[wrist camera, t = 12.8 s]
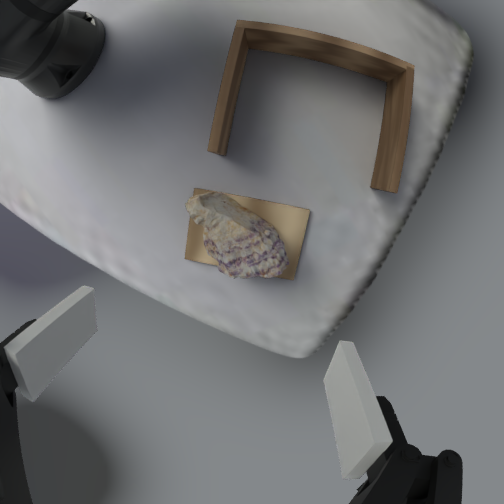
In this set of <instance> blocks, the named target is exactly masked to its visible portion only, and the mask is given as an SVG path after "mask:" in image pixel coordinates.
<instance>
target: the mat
mask: <svg viewBox="0 0 504 504" xmlns="http://www.w3.org/2000/svg"><path fill="white" fill-rule="evenodd" d="M208 192H215V191H210V190H204V189H198V188H194V194H193V196H195V195H200V194H204V193H208ZM218 193H220V192H218ZM224 194H226V195H227V196H229V197H231V198H232V199H234V200H235V201H237V202H238V203H239V204H240V205H241V206H243V207H245V208H247V209H249V210H250V211H251V212H253V213H254V214H256V215H257V216H259V217H260V218H262V219H264V220H265V221H266V222H268V223H269V224H271V225H273V227H274V229H275V230H276V232H277V233H278V235H279V238H280V239H281V240H282V241H283V242H284V246H285V251H286V253H287V257H288V260H289V265H286V267H287V268H286V269H285V270H283V271H282V274H280V275H277V276H274V277H278V278H283V279H289V280H294V276H295V272H296V268H297V264H298V260H299V256H300V252H301V247H302V243H303V239H304V235H305V230H306V226H307V222H308V217H309V213H310V210H308V209H303V208H299V207H294V206H289V205H285V204H280V203H275V202H270V201H265V200H260V199H254V198H249V197H244V196H238V195H233V194H227V193H224ZM203 233H204V229H203V226H202V225H198V224H196V223H195V222H194V220H193V219H192V218H191V217H190V221H189V229H188V236H187V244H186V252H185V259H187V260H192V261H197V262H202V263H207V264H212V265H217V266H218V265H219V263H218V261H217V260H216V259H214V258H213V257H211V256H209V255H208V254H207V251H206V248H205V245H204V238H203Z"/></svg>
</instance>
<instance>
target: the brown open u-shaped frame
mask: <svg viewBox="0 0 504 504" xmlns="http://www.w3.org/2000/svg"><path fill="white" fill-rule="evenodd" d="M248 49H256V50H263V51H270V52H276V53H282V54H287V55H292V56H297V57H302V58H307V59H311V60H315V61H319V62H323V63H327V64H331V65H335V66H338V67H342V68H345V69H349V70H352V71H355V72H358V73H361V74H365V75H368V76H370V77H373V78H376V79H379V80H382V81H384V82H387V88H386V97H385V105H384V112H383V119H382V126H381V133H380V139H379V145H378V150H377V156H376V161H375V167H374V172H373V177H372V182H371V186H370V187H371V188H374V189H378V190H383V191H387V192H392V193H397V192H398V187H399V182H400V177H401V172H402V167H403V161H404V156H405V150H406V143H407V137H408V130H409V122H410V114H411V105H412V94H413V82H414V65H412V64H410V63H407V62H405V61H403V60H400V59H398V58H396V57H393V56H391V55H388V54H385V53H383V52H380V51H377V50H375V49H372V48H369V47H366V46H363V45H360V44H357V43H354V42H350V41H347V40H344V39H340V38H337V37H333V36H329V35H325V34H321V33H317V32H313V31H308V30H304V29H299V28H293V27H288V26H282V25H276V24H269V23H262V22H254V21H244V20H237V22H236V26H235V30H234V33H233V37H232V41H231V45H230V49H229V53H228V57H227V61H226V65H225V69H224V73H223V78H222V82H221V86H220V91H219V95H218V100H217V105H216V109H215V114H214V119H213V124H212V129H211V134H210V139H209V145H208V150H207V151H209V152H212V153H215V154H219V155H225V156H226V153H227V147H228V142H229V137H230V132H231V127H232V122H233V117H234V112H235V107H236V102H237V98H238V93H239V88H240V84H241V79H242V75H243V70H244V66H245V62H246V57H247V53H248Z"/></svg>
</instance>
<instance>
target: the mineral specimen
mask: <svg viewBox="0 0 504 504" xmlns="http://www.w3.org/2000/svg"><path fill="white" fill-rule="evenodd" d="M185 205H186V209H187V211H188V212H189V214H190V217H191V218H192V219H193V220H194V222H195V223H196V224H198V225H202V226H203V229H204V233H203V238H204V245H205V248H206V251H207V254H208V255H209V256H211V257H213V258H214V259H216V260H217V261H218V263H219V265H218V269H219V271H220V272H222V273H224V274H227V275H228V276H229V277H231V278H236V277H240V278H252V277H257V276H261V277H263V278H267V279H268V278H271V277H274V276H277V275H280V274H282V271H283V270H285V269H286V268H287V267H286V265H289V260H288V257H287V253H286V251H285V246H284V242H283V241H282V240H281V239H280V238H279V235H278V233H277V232H276V230H275V229H274V227H273V225H271V224H269V223H268V222H266V221H265V220H264V219H262V218H260V217H259V216H257V215H256V214H254V213H253V212H251V211H250V210H249V209H247V208H245V207H243V206H241V205H240V204H239V203H238V202H237V201H235V200H234V199H232V198H231V197H229V196H227V195H226V194H224V193H222V192H220V193H218V192H216V191H215V192H208V193H204V194H200V195H195V196H193V197H190V199H189V200H188V202H187V203H185Z"/></svg>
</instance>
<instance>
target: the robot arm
mask: <svg viewBox="0 0 504 504" xmlns="http://www.w3.org/2000/svg"><path fill="white" fill-rule="evenodd" d="M77 1H78V0H0V76H1V77H6V78H12V79H16V80H18V81H20V82H21V83H22V84H23V85H24V86H25V87H27V88H28V89H29V90H30V91H31V92H32V93H34V94H35V95H37V96H39V97H44V98H48V99H55V98H59V97H62V96H64V95H66V94H68V93H69V92H71V91H72V90H74V89H75V88H76V87H77V86H78V85H79V84H80V83H81V82H82V81H83V80H84V79H85V78H86V77H87V76H88V74H89V73H90V72H91V70H92V69H93V67H94V66H95V64H96V62H97V60H98V58H99V56H100V54H101V51H102V48H103V45H104V40H105V30H104V26H103V24H102V22H101V21H100V20H99V19H97V18H96V17H95V16H93V15H92V14H90V13H87V12H82V11H75V10H67V9H68V8H69V7H70V6H71V5H73V4H74V3H75V2H77ZM96 332H97V322H96V309H95V293H94V288H91V287H87V286H84V285H83V286H82V287H80V288H79V289H78V290H76V291H75V292H73V293H72V294H71V295H69V296H68V297H67V298H65V299H64V300H63V301H61V302H60V303H59V304H57V305H56V306H55V307H53V308H52V309H51V310H50V311H48V312H47V313H46V314H44V315H43V316H42V317H40V318H39V319H38V320H36V319H34V320H31V321H29V322H27V323H25V324H24V325H22V326H21V327H20V329H17V330H16V331H15V333H12V334H11V335H10V336H9V337H7V338H6V339H5V340H4V341H3V342H1V343H0V504H33V503H32V499H31V495H30V492H29V487H28V483H27V479H26V474H25V470H24V464H23V459H22V453H21V446H20V439H19V430H18V422H17V421H18V420H17V404H16V393H15V389H16V387H17V386H18V387H19V390H20V392H21V394H22V395H23V396H24V397H26V398H27V399H29V400H30V401H32V402H34V401H35V400H36V399H37V397H38V396H39V395H40V394H41V393H42V391H43V390H44V389H45V388H46V387H47V386H48V385H49V383H50V382H51V381H52V380H53V379H54V378H55V376H56V375H57V374H58V373H59V372H60V371H61V370H62V368H63V367H64V366H65V365H66V364H67V363H68V362H69V361H70V360H71V359H72V357H73V356H74V355H75V354H76V353H77V352H78V351H79V350H80V349H81V348H82V346H84V344H85V343H86V342H87V341H88V340H89V339H90V338H91V337H92V336H93V335H94V334H95V333H96ZM323 382H324V386H325V391H326V395H327V400H328V405H329V410H330V414H331V419H332V424H333V429H334V434H335V439H336V444H337V450H338V455H339V461H340V466H341V472H342V478H343V480H346V479H359V478H361V477H362V476H363V475H364V473H366V472H367V476H368V479H367V480H366V481H365V483H363V484H362V485H361V486H360V487H359V488H358V489H357V490H358V492H357V494H356V495H355V496H354V498H353V499H352V500H351V502H350V503H349V504H461V501H462V473H463V469H462V459H461V457H460V455H459V454H458V453H456V452H455V451H453V450H444V451H442V452H441V453H440V454H439V455H438V456H437V457H434V456H425V455H422V454H421V452H420V451H419V449H418V448H416V447H415V446H413V445H410V444H408V443H407V441H406V438H405V436H404V433H403V431H402V428H401V426H400V424H399V421H398V420H397V417H396V414H394V409H393V407H392V405H391V403H390V402H389V401H388V400H387V399H386V398H385V397H384V396H375V393H374V391H373V388H372V386H371V383H370V381H369V379H368V376H367V374H366V371H365V369H364V367H363V364H362V362H361V359H360V357H359V355H358V352H357V350H356V348H355V346H354V343H353V342H348V341H339V344H338V346H337V348H336V351H335V353H334V356H333V358H332V361H331V363H330V365H329V368H328V370H327V372H326V375H325V377H324V379H323Z"/></svg>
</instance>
